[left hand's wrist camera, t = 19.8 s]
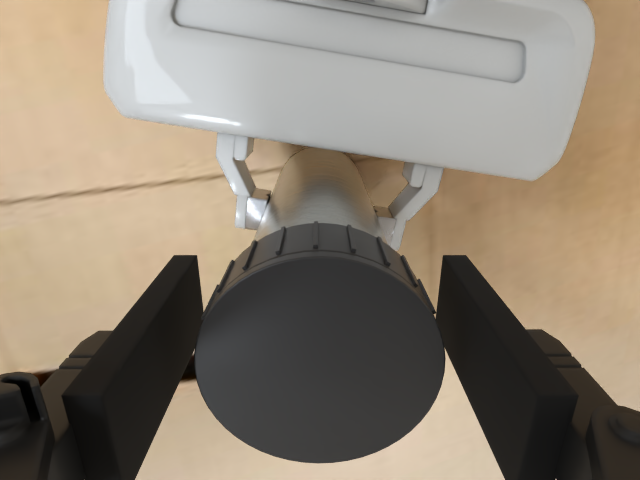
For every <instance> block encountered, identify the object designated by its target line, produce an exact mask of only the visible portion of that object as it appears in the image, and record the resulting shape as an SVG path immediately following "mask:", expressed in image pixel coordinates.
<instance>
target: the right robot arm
mask: <svg viewBox="0 0 640 480" xmlns="http://www.w3.org/2000/svg"><path fill="white" fill-rule="evenodd" d="M594 46H595V24H594V19H593V15H592V13H591V10H590V8H589V7H588V5H587V4H586V2H585V1H584V0H109V4H108V12H107V22H106V32H105V46H104V69H103V82H104V89H105V92H106V94H107V95H108V97H109V98H110V100H111V101H112V103H113V104H114V106H115V107H116V109H117V110H118V111H119V112H120V114H121V115H122V116H124V117H126V118H130V119H136V120H142V121H149V122H155V123H161V124H168V125H174V126H181V127H187V128H193V129H200V130H206V131H212V132H218V133H217V148H216V158H217V160H218V162H219V164H220V166H221V168H222V170H223V172H224V174H225V176H226V178H227V180H228V182H229V184H230V186H231V188H232V190H233V192H234V194H235V195H237V204H236V216H235V227H236V228H241V229H251V230H258V227H259V225H260V222H261V220H262V217H263V215H264V213H265V210H266V208H267V205H268V203H269V200H270V197H271V191H270V190H264V189H258V188H256V186H255V184H254V182H253V179H252V177H251V175H250V172H249V170H248V168H247V165H246V163H245V161H244V160H245V159H246V158H247V157H248V156H249V155H250V154H251V153H252V151H253V145H254V138H257V139H264V140H270V141H276V142H283V143H289V144H296V145H302V146H308V147H315V148H321V149H327V150H334V151H340V152H347V153H353V154H359V155H366V156H372V157H379V158H385V159H391V160H398V161H404V162H405V163H404V168H403V172H402V175H403V176H404V178H405V179H406V180H407V181H408V182H409V183H408V185H407V186H406V187H405V188H404V189H403V190H402V192H401V193H400V194H399V195H398V196H397V197H396V199H395V200H394V201H393V202H392V203H391V204H390V206H389V207H388V208H385V207H377V206H373V208H374V211H375V213H376V216H377V218H378V221H379V223H380V226H381V228H382V231H383V233H384V236H385V238H386V241H387V243H388V245H389V246H390V247H391V248H392V249H394V250H395V251H398V250H399V248H400V245H401V241H402V237H403V232H404V228H405V224H406V220H408V221H409V220H410V219H411V218H412V217H413V216H414V215H415V214H416V213H417V212H418V211H419V210H420V209H421V208H422V207H423V206H424V205H425V204H426V203H427V202H428V201H429V200H430V199H431V198H432V197H433V196H434V195H435V193H436V192H437V191H438V188H439V185H440V181H441V177H442V173H443V170H444V168H449V169H455V170H462V171H468V172H474V173H481V174H487V175H494V176H500V177H506V178H513V179H519V180H526V181H535V180H537V179H538V178H540V177H541V176H543V175H544V174H545V173H546V172H548V171H549V170H550V169H551V168H552V167H554V166H555V165H556V164H557V163H558V162H559V161H560V159H561V157H562V155H563V153H564V151H565V148H566V146H567V143H568V141H569V138H570V135H571V132H572V129H573V126H574V123H575V120H576V117H577V114H578V111H579V108H580V104H581V101H582V97H583V94H584V90H585V86H586V83H587V79H588V75H589V71H590V66H591V62H592V57H593V52H594Z"/></svg>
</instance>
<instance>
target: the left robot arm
mask: <svg viewBox="0 0 640 480" xmlns="http://www.w3.org/2000/svg"><path fill="white" fill-rule="evenodd" d="M203 313H204V312H203V303H202V295H201V286H200V277H199V269H198V260H197V255H174V256H173V257H172V259H171V260H170V261H169V262H168V264H167V265H166V266H165V267H164V268H163V270H162V271H161V272H160V273H159V275H158V276H157V277H156V278H155V280H154V281H153V282H152V283H151V285H150V286H149V287H148V288H147V290H146V291H145V292H144V293H143V295H142V296H141V297H140V298H139V299H138V301H137V302H136V303H135V304H134V306H133V307H132V308H131V309H130V311H129V312H128V313H127V314H126V316H125V317H124V318H123V319H122V321H121V322H120V323H119V324H118V326H117V327H116V328H115V329H114V330H113V331H98V332H96V333H95V334H93V335H91V336H90V337H88V338H87V339H85V340H84V341H82V342H81V343H80V344H79V345H78V346H77V347H76V348H75V349H74V350H73V352H72V353H71V354H70V355H69V358H66V359H65V361H64V362H63V363H62V364H61V365H60V366H59V369H56V371H55V372H54V373H53V374H52V375H51V376H50V377H49V378H48V380H47V381H46V382H45V383H44V384H43V385H42V386H41V387H40V385H39V381H38V378H37V377H35V376H34V375H32V374H31V373H25V372H14V373H6V374H2V375H0V480H84V479H85V480H135V478H136V476H137V474H138V472H139V469H140V467H141V465H142V463H143V461H144V458H145V456H146V454H147V452H148V450H149V447H150V445H151V443H152V441H153V439H154V437H155V434H156V432H157V430H158V428H159V426H160V423H161V421H162V419H163V417H164V415H165V412H166V410H167V408H168V406H169V404H170V402H171V399H172V397H173V395H174V393H175V391H176V388H177V386H178V384H179V382H180V380H181V377H182V375H183V373H184V371H185V369H186V367H187V364H188V362H189V360H190V358H191V356H192V353H193V351H194V349H195V345H196V340H197V336H198V333H199V330H200V327H201V325H202V323H203V321H204V320H201V317H202V315H203ZM436 322H437V324H438V326H439V329H440V331H441V335H442V338H443V342H444V347H445V349H446V351H447V353H448V356H449V358H450V360H451V362H452V364H453V367H454V369H455V371H456V373H457V375H458V377H459V380H460V382H461V384H462V386H463V388H464V391H465V393H466V395H467V397H468V399H469V402H470V404H471V406H472V408H473V410H474V412H475V415H476V417H477V419H478V421H479V423H480V426H481V428H482V430H483V432H484V434H485V437H486V439H487V441H488V443H489V445H490V447H491V450H492V452H493V454H494V456H495V458H496V461H497V463H498V465H499V467H500V469H501V472H502V474H503V476H504V478H505V480H555V479H557V480H640V412H639V411H636V410H633V409H630V408H627V407H624V406H618V405H617V404H616V403H615V402H614V401H613V400H612V399H611V398H610V396H609V395H608V394H607V393H606V392H605V391H604V390H603V389H602V388H601V386H600V385H599V384H598V383H597V382H596V381H595V380H594V379H593V378H592V376H591V375H590V374H589V373H588V372H587V371H586V370H585V369H584V368H582V367H581V364H580V363H579V362H578V361H577V360H576V359H575V358H574V357H572V356H571V353H570V352H569V351H568V350H567V349H566V348H565V346H564V345H563V344H562V343H561V342H560V341H559V340H557V339H556V338H554V337H553V336H551V335H549V334H548V333H546V332H545V331H543V330H526V329H525V328H524V327H523V326H522V324H521V323H520V322H519V321H518V319H517V318H516V317H515V316H514V314H513V313H512V312H511V311H510V309H509V308H508V307H507V306H506V304H505V303H504V302H503V301H502V299H501V298H500V297H499V296H498V295H497V293H496V292H495V291H494V290H493V288H492V287H491V286H490V285H489V283H488V282H487V281H486V280H485V278H484V277H483V276H482V275H481V273H480V272H479V271H478V270H477V268H476V267H475V266H474V265H473V264H472V262H471V261H470V260H469V259H468V257H467V256H466V255H443V260H442V269H441V277H440V286H439V295H438V303H437V312H436Z"/></svg>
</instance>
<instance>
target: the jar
mask: <svg viewBox="0 0 640 480" xmlns="http://www.w3.org/2000/svg"><path fill="white" fill-rule="evenodd" d="M314 221H318V223H330V224H339V225H344V226H347V225H348V224H349V225H351V226H352V227H353V228H356V229H358V230H361V231H364V232H367V233H369V234H371V235H373V236H375V237H378V236H379V237H381V238H382V241H383V242H385V243H386V244H387V245H388V243H387V241H386V238H385V236H384V233H383V231H382V228H381V226H380V223H379V221H378V218H377V216H376V213H375V211H374V208H373V206H372V203H371V201H370V198H369V196H368V193H367V191H366V188H365V186H364V183H363V181H362V178H361V176H360V173H359V171H358V169H357V167H356V165H355V164H354V163H353V161H352V160H351V159H350V158H349V157H348V156H347V155H345V154H344V153H342V152H340V151H334V150H327V149H321V148H315V147H309V148H306V149H303V150H301V151H299V152H298V153H296V154H295V155H293V156H292V157H291V158H290V159H289V160H288V161H287V162H286V164H285V165H284V167H283V168H282V171H281V173H280V175H279V178H278V180H277V183H276V185H275V188H274V190H273V193H272V195H271V198H270V200H269V203H268V205H267V208H266V210H265V213H264V215H263V217H262V220H261V222H260V225H259V227H258V230H257V232H256V235H255V237H254V240H256V241H258V240H260V239H261V238H263V237H265V236H267V235H269V234H271V233H273V232H275V231H278V230H281V227H284V226H285V228H287V227H291V226H295V225H301V224H308V223H314ZM254 240H253V241H254Z"/></svg>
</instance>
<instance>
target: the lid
mask: <svg viewBox="0 0 640 480" xmlns="http://www.w3.org/2000/svg"><path fill="white" fill-rule="evenodd" d="M435 313H436V311H435V309H434V307H433V305H432V303H431V301H430V299H429V297H428V295H427V293H426V291H425V289H424V287H423V285H422V283H421V280H420V279H418V280H417V279H416V277H415V275H414V273H413V272H412V270H411V269H410V266H409V264H408V262H407V260H406V258H405V256H404V255H402V256H400V255H399V254H398V253H397V252H396V251H395V250H394V249H392V248H391V247H390V246H389V245H387V244H386V243H385V242H383V241H382V238H381V237H379V236H378V237H375V236H373V235H371V234H369V233H367V232H364V231H361V230H358V229H356V228H353V227H352V226H351V225H349V224H348V225H347V226H344V225H339V224H330V223H318V221H314V223H308V224H301V225H295V226H291V227H287V228H285V226H284V227H281V230H278V231H275V232H273V233H271V234H269V235H267V236H265V237H263V238H261V239H260V240H258V241H256V240H254V241H252V244H251V246H250V247H248V248H247V249H246V250H245V251H243V252H242V253H241V254H240V256H239V257H238V258H237V259H236V260H235V261H233V260H232V261H231V262H230V264H229V266H228V268H227V270H226V272H225V274H224V276H223V278H222V280H221V283H220V285H217V286H216V288H215V290H214V293H213V295H212V297H211V299H210V301H209V303H208V305H207V307H206V309H205V311H204V313H203V315H202V317H201V320H204V321H203V323H202V325H201V327H200V330H199V333H198V336H197V340H196V345H195V353H194V364H195V373H196V378H197V383H198V386H199V389H200V392H201V394H202V397H203V398H204V400H205V402H206V404H207V406H208V408H209V409H210V410H211V412H212V413H213V415H214V416H215V417H216V419H217V420H218V421H219V422H220V423H221V424H222V425H223V426H224V427H225V428H226V429H227V430H228V431H229V432H231V433H232V434H233V435H234V436H236V437H237V438H238V439H240V440H241V441H243V442H245V443H246V444H248V445H250V446H252V447H254V448H255V449H257V450H259V451H262V452H264V453H267V454H270V455H272V456H275V457H279V458H283V459H287V460H291V461H298V462H305V463H334V462H342V461H348V460H353V459H357V458H361V457H364V456H367V455H370V454H373V453H376V452H378V451H380V450H382V449H384V448H386V447H388V446H390V445H392V444H393V443H395V442H397V441H398V440H400V439H401V438H402V437H404V436H405V435H406V434H408V433H409V432H410V431H411V430H412V429H413V428H414V427H415V426H416V425H417V424H418V423H420V422H421V420H422V419H423V418H424V417H425V415H426V414H427V413H428V411H429V410H430V408H431V407H432V405H433V403H434V401H435V400H436V398H437V395H438V393H439V390H440V388H441V385H442V380H443V376H444V371H445V349H444V342H443V338H442V335H441V331H440V329H439V326H438V324H437V322H436V319H435V317H434V315H433V314H435Z"/></svg>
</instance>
